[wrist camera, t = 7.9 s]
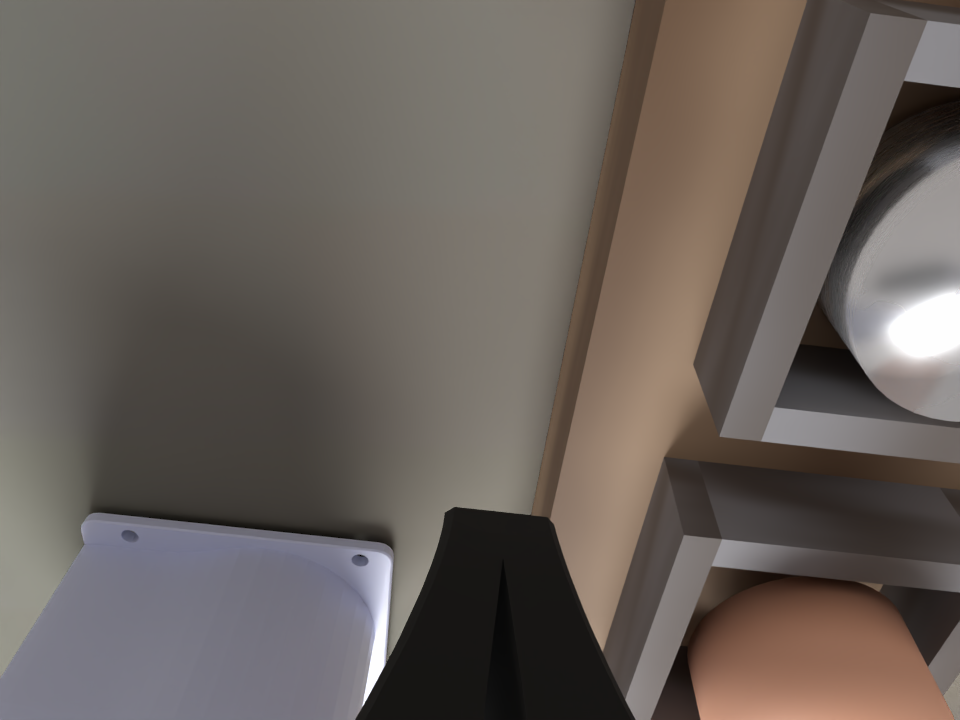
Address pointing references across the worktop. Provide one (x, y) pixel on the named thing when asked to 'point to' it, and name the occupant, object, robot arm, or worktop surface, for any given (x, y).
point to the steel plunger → (905, 266)
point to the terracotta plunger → (810, 656)
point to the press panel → (744, 338)
